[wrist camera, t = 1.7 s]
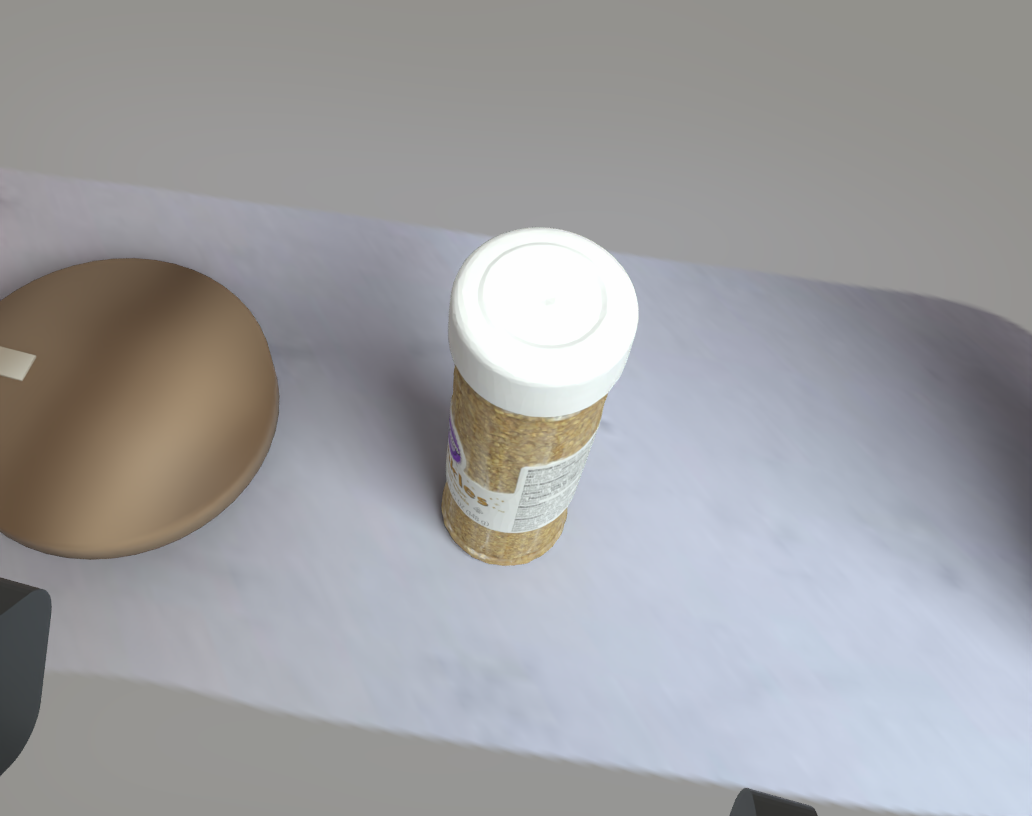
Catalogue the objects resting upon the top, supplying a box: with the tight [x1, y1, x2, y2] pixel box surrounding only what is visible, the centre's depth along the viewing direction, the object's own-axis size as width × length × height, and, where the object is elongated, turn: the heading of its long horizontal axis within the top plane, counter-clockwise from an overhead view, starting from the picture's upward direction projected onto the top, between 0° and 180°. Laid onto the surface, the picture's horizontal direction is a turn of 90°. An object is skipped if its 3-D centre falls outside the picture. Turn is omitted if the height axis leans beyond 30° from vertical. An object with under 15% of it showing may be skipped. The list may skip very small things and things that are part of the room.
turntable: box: [0, 258, 279, 560], centre depth 33 cm, size 11×11×2 cm
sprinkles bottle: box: [441, 227, 639, 566], centre depth 28 cm, size 5×5×13 cm
